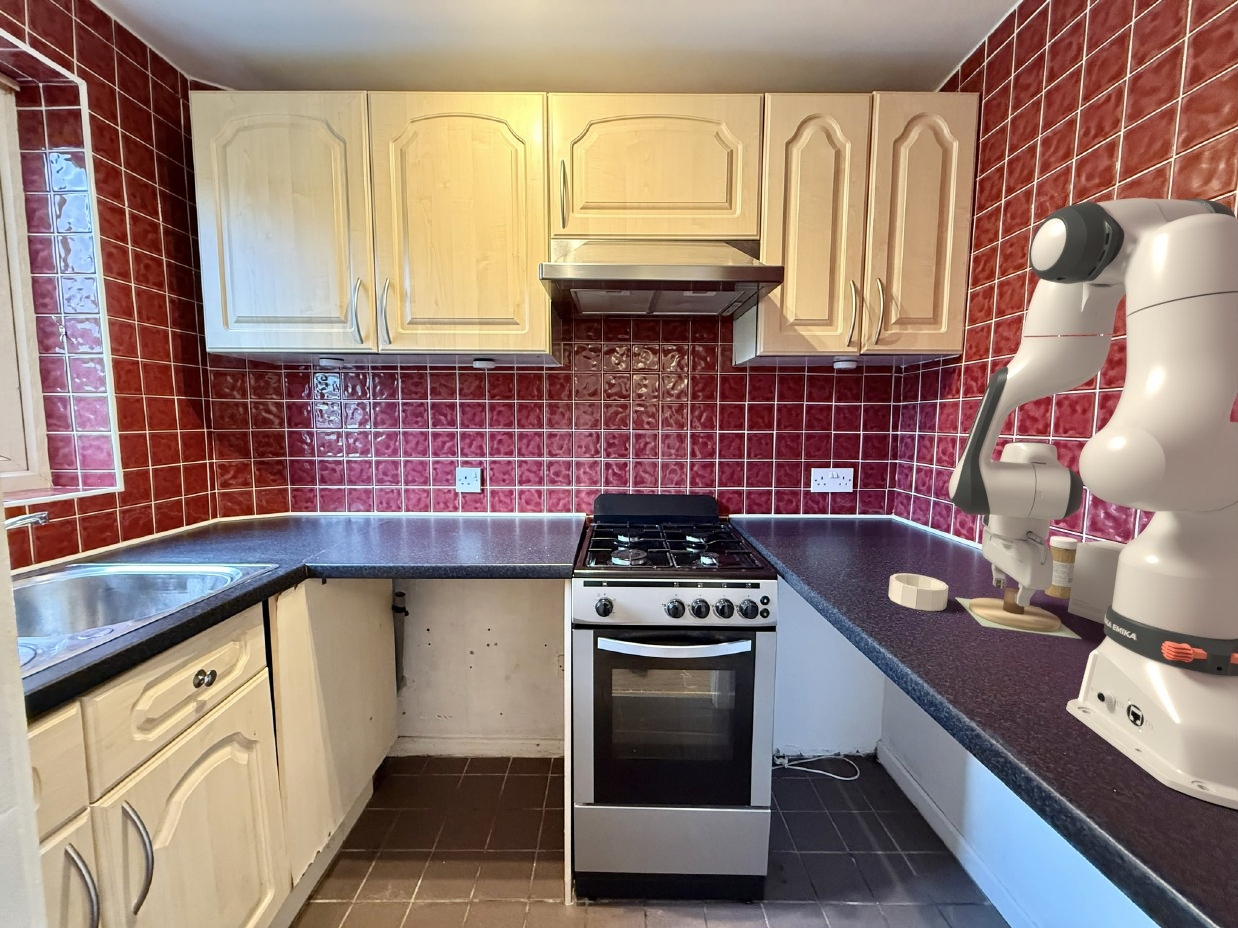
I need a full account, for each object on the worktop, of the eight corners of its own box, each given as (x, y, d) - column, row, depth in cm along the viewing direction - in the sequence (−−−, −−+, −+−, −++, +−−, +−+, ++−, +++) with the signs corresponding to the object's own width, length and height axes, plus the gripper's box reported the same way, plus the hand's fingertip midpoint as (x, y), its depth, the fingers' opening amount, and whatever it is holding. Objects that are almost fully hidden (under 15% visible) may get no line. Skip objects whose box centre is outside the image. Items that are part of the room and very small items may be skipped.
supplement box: (1121, 634, 93) (1133, 554, 92) (1065, 615, 102) (1075, 542, 100) (1152, 628, 96) (1163, 551, 94) (1095, 610, 105) (1104, 539, 103)
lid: (1077, 636, 90) (1080, 609, 89) (984, 625, 94) (987, 598, 93) (1037, 607, 103) (1040, 584, 102) (958, 598, 107) (960, 575, 106)
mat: (1081, 642, 89) (1082, 638, 89) (981, 629, 93) (982, 625, 93) (1039, 611, 103) (1039, 607, 103) (954, 601, 108) (955, 597, 108)
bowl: (952, 617, 99) (954, 592, 98) (894, 610, 102) (896, 586, 101) (936, 599, 108) (938, 576, 108) (884, 593, 111) (886, 571, 111)
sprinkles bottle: (1054, 593, 114) (1061, 535, 112) (1076, 601, 109) (1084, 540, 108) (1037, 595, 113) (1045, 535, 111) (1059, 602, 108) (1067, 541, 107)
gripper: (1070, 542, 86) (1058, 619, 88) (1014, 516, 106) (1005, 580, 107) (1026, 538, 88) (1015, 614, 89) (978, 513, 107) (971, 576, 109)
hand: (1009, 595), depth 99 cm, fingers open, 8 cm apart
